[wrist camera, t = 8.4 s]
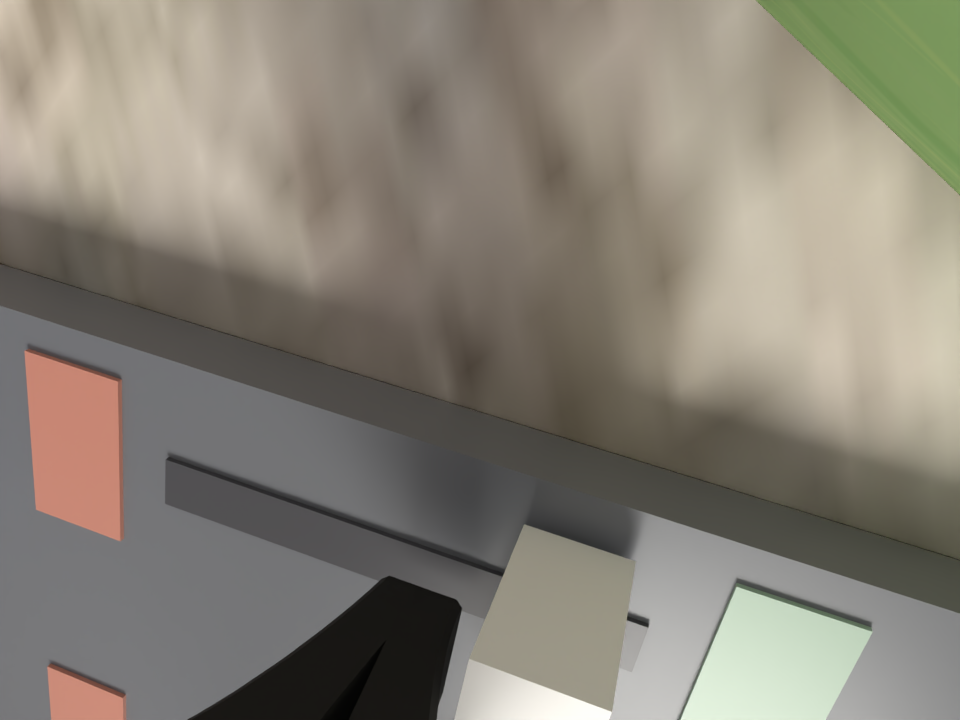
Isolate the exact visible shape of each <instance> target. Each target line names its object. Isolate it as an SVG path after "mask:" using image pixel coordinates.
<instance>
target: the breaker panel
mask: <svg viewBox="0 0 960 720" xmlns="http://www.w3.org/2000/svg"><path fill="white" fill-rule="evenodd" d="M524 524H525V525H528V526H531V527H534V528H537V529H540V530H543V531H546V532H549V533H552V534H555V535H558V536H561V537H564V538H567V539H570V540H573V541H576V542H579V543H582V544H585V545H588V546H591V547H594V548H597V549H600V550H603V551H606V552H609V553H612V554H615V555H618V556H621V557H624V558H627V559H630V560H633V561H636V564H635V570H634V576H633V583H632V589H631V595H630V602H629V608H628V614H627V621H626V627H625V633H624V640H623V646H622V652H621V659H620V665H619V671H618V678H617V684H616V690H615V697H614V703H613V709H612V714H611V716H610V719H609V720H960V560H957V559H953V558H950V557H947V556H944V555H941V554H937V553H934V552H931V551H928V550H924V549H921V548H918V547H915V546H911V545H908V544H905V543H902V542H898V541H895V540H892V539H889V538H885V537H882V536H879V535H876V534H873V533H869V532H866V531H863V530H860V529H856V528H853V527H850V526H847V525H843V524H840V523H837V522H834V521H830V520H827V519H824V518H821V517H817V516H814V515H811V514H808V513H805V512H801V511H798V510H795V509H792V508H788V507H785V506H782V505H779V504H775V503H772V502H769V501H766V500H762V499H759V498H756V497H753V496H749V495H746V494H743V493H740V492H737V491H733V490H730V489H727V488H724V487H720V486H717V485H714V484H711V483H707V482H704V481H701V480H698V479H694V478H691V477H688V476H685V475H681V474H678V473H675V472H672V471H669V470H665V469H662V468H659V467H656V466H652V465H649V464H646V463H643V462H639V461H636V460H633V459H630V458H626V457H623V456H620V455H617V454H614V453H610V452H607V451H604V450H601V449H597V448H594V447H591V446H588V445H584V444H581V443H578V442H575V441H571V440H568V439H565V438H562V437H558V436H555V435H552V434H549V433H546V432H542V431H539V430H536V429H533V428H529V427H526V426H523V425H520V424H516V423H513V422H510V421H507V420H503V419H500V418H497V417H494V416H490V415H487V414H484V413H481V412H478V411H474V410H471V409H468V408H465V407H461V406H458V405H455V404H452V403H448V402H445V401H442V400H439V399H435V398H432V397H429V396H426V395H422V394H419V393H416V392H413V391H410V390H406V389H403V388H400V387H397V386H393V385H390V384H387V383H384V382H380V381H377V380H374V379H371V378H367V377H364V376H361V375H358V374H354V373H351V372H348V371H345V370H342V369H338V368H335V367H332V366H329V365H325V364H322V363H319V362H316V361H312V360H309V359H306V358H303V357H299V356H296V355H293V354H290V353H286V352H283V351H280V350H277V349H274V348H270V347H267V346H264V345H261V344H257V343H254V342H251V341H248V340H244V339H241V338H238V337H235V336H231V335H228V334H225V333H222V332H218V331H215V330H212V329H209V328H206V327H202V326H199V325H196V324H193V323H189V322H186V321H183V320H180V319H176V318H173V317H170V316H167V315H163V314H160V313H157V312H154V311H150V310H147V309H144V308H141V307H138V306H134V305H131V304H128V303H125V302H121V301H118V300H115V299H112V298H108V297H105V296H102V295H99V294H95V293H92V292H89V291H86V290H82V289H79V288H76V287H73V286H70V285H66V284H63V283H60V282H57V281H53V280H50V279H47V278H44V277H40V276H37V275H34V274H31V273H27V272H24V271H21V270H18V269H14V268H11V267H8V266H5V265H2V264H0V720H187V719H189V718H191V717H193V716H194V715H196V714H198V713H200V712H201V711H203V710H205V709H206V708H208V707H210V706H211V705H213V704H215V703H216V702H218V701H220V700H221V699H223V698H224V697H226V696H228V695H229V694H231V693H232V692H234V691H236V690H237V689H239V688H240V687H242V686H243V685H245V684H246V683H248V682H249V681H250V680H252V679H253V678H255V677H256V676H258V675H259V674H261V673H262V672H264V671H265V670H267V669H268V668H270V667H271V666H273V665H274V664H276V663H277V662H279V661H280V660H282V659H283V658H284V657H286V656H287V655H288V654H290V653H291V652H293V651H294V650H295V649H296V648H298V647H299V646H300V645H302V644H303V643H304V642H306V641H307V640H308V639H310V638H311V637H312V636H314V635H315V634H316V633H318V632H319V631H320V630H322V629H323V628H324V627H326V626H327V625H328V624H329V623H331V622H332V621H333V620H334V619H336V618H337V617H338V616H339V615H340V614H342V613H343V612H344V611H345V610H347V609H348V608H349V607H350V606H351V605H353V604H354V603H355V602H356V601H357V600H358V599H360V598H361V597H362V596H363V595H364V594H365V593H366V592H368V591H369V590H370V589H371V588H372V587H373V586H374V585H375V584H376V583H378V582H379V581H380V580H381V579H382V578H385V577H387V576H392V577H395V578H398V579H400V580H403V581H406V582H409V583H412V584H414V585H417V586H420V587H423V588H426V589H428V590H431V591H434V592H437V593H440V594H442V595H445V596H448V597H451V598H453V599H456V600H457V601H458V602H459V604H460V605H461V607H462V611H461V616H460V620H459V625H458V629H457V633H456V638H455V642H454V646H453V651H452V655H451V660H450V664H449V668H448V673H447V677H446V681H445V686H444V690H443V694H442V697H441V699H440V702H439V705H438V713H437V720H454V718H455V714H456V710H457V706H458V702H459V698H460V694H461V690H462V686H463V682H464V677H465V673H466V669H467V665H468V661H469V658H470V655H471V653H472V650H473V648H474V645H475V643H476V641H477V638H478V636H479V633H480V631H481V628H482V626H483V623H484V621H485V619H486V616H487V614H488V611H489V609H490V606H491V604H492V601H493V599H494V597H495V594H496V592H497V589H498V587H499V584H500V582H501V579H502V577H503V575H504V572H505V570H506V567H507V565H508V562H509V560H510V557H511V555H512V553H513V550H514V548H515V545H516V543H517V540H518V538H519V535H520V533H521V531H522V528H523V526H524Z"/></svg>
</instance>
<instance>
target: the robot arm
mask: <svg viewBox="0 0 960 720" xmlns="http://www.w3.org/2000/svg"><path fill="white" fill-rule="evenodd" d="M461 611H462V607H461V605H460V604H459V602H458V601H457V600H456V599H453V598H451V597H448V596H445V595H442V594H440V593H437V592H434V591H431V590H428V589H426V588H423V587H420V586H417V585H414V584H412V583H409V582H406V581H403V580H400V579H398V578H395V577H392V576H387V577H385V578H382V579H381V580H380V581H379V582H378V583H376V584H375V585H374V586H373V587H372V588H371V589H370V590H369V591H368V592H366V593H365V594H364V595H363V596H362V597H361V598H360V599H358V600H357V601H356V602H355V603H354V604H353V605H351V606H350V607H349V608H348V609H347V610H345V611H344V612H343V613H342V614H340V615H339V616H338V617H337V618H336V619H334V620H333V621H332V622H331V623H329V624H328V625H327V626H326V627H324V628H323V629H322V630H320V631H319V632H318V633H316V634H315V635H314V636H312V637H311V638H310V639H308V640H307V641H306V642H304V643H303V644H302V645H300V646H299V647H298V648H296V649H295V650H294V651H293V652H291V653H290V654H288V655H287V656H286V657H284V658H283V659H282V660H280V661H279V662H277V663H276V664H274V665H273V666H271V667H270V668H268V669H267V670H265V671H264V672H262V673H261V674H259V675H258V676H256V677H255V678H253V679H252V680H250V681H249V682H248V683H246V684H245V685H243V686H242V687H240V688H239V689H237V690H236V691H234V692H232V693H231V694H229V695H228V696H226V697H224V698H223V699H221V700H220V701H218V702H216V703H215V704H213V705H211V706H210V707H208V708H206V709H205V710H203V711H201V712H200V713H198V714H196V715H194V716H193V717H191V718H189V719H187V720H437V713H438V705H439V702H440V699H441V697H442V694H443V690H444V686H445V681H446V677H447V673H448V668H449V664H450V660H451V655H452V651H453V646H454V642H455V638H456V633H457V629H458V625H459V620H460V616H461Z"/></svg>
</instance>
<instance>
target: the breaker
mask: <svg viewBox="0 0 960 720" xmlns="http://www.w3.org/2000/svg"><path fill="white" fill-rule="evenodd" d="M635 564H636V561H633V560H630V559H627V558H624V557H621V556H618V555H615V554H612V553H609V552H606V551H603V550H600V549H597V548H594V547H591V546H588V545H585V544H582V543H579V542H576V541H573V540H570V539H567V538H564V537H561V536H558V535H555V534H552V533H549V532H546V531H543V530H540V529H537V528H534V527H531V526H528V525H525V524H524V526H523V528H522V531H521V533H520V535H519V538H518V540H517V543H516V545H515V548H514V550H513V553H512V555H511V557H510V560H509V562H508V565H507V567H506V570H505V572H504V575H503V577H502V579H501V582H500V584H499V587H498V589H497V592H496V594H495V597H494V599H493V601H492V604H491V606H490V609H489V611H488V614H487V616H486V619H485V621H484V623H483V626H482V628H481V631H480V633H479V636H478V638H477V641H476V643H475V645H474V648H473V650H472V653H471V655H470V658H469V661H468V665H467V669H466V673H465V677H464V682H463V686H462V690H461V694H460V698H459V702H458V706H457V710H456V714H455V718H454V720H609V719H610V716H611V714H612V709H613V703H614V697H615V690H616V684H617V678H618V671H619V665H620V659H621V652H622V646H623V640H624V633H625V627H626V621H627V614H628V608H629V602H630V595H631V589H632V583H633V576H634V570H635Z"/></svg>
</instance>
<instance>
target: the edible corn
mask: <svg viewBox="0 0 960 720" xmlns="http://www.w3.org/2000/svg"><path fill="white" fill-rule="evenodd" d="M756 1H757V2H758V3H759V4H760V5H761V6H762V7H763V8H764V9H765V10H766V11H768V12H769V13H770V14H771V15H772V16H773V17H774V18H775V19H776V20H777V21H778V22H779V23H780V24H781V25H782V26H783V27H784V28H785V29H786V30H787V31H789V32H790V33H791V34H792V35H793V36H794V37H795V38H796V39H797V40H798V41H799V42H800V43H801V44H802V45H803V46H804V47H805V48H806V49H807V50H808V51H809V52H811V53H812V54H813V55H814V56H815V57H816V58H817V59H818V60H819V61H820V62H821V63H822V64H823V65H824V66H825V67H826V68H827V69H828V70H829V71H830V72H831V73H833V74H834V75H835V76H836V77H837V78H838V79H839V80H840V81H841V82H842V83H843V84H844V85H845V86H846V87H847V88H848V89H849V90H850V91H851V92H852V93H853V94H855V95H856V96H857V97H858V98H859V99H860V100H861V101H862V102H863V103H864V104H865V105H866V106H867V107H868V108H869V109H870V110H871V111H872V112H873V113H874V114H875V115H877V116H878V117H879V118H880V119H881V120H882V121H883V122H884V123H885V124H886V125H887V126H888V127H889V128H890V129H891V130H892V131H893V132H894V133H895V134H896V135H897V136H899V137H900V138H901V139H902V140H903V141H904V142H905V143H906V144H907V145H908V146H909V147H910V148H911V149H912V150H913V151H914V152H915V153H916V154H917V155H918V156H919V157H921V158H922V159H923V160H924V161H925V162H926V163H927V164H928V165H929V166H930V167H931V168H932V169H933V170H934V171H935V172H936V173H937V174H938V175H939V176H940V177H941V178H943V179H944V180H945V181H946V182H947V183H948V184H949V185H950V186H951V187H952V188H953V189H954V190H955V191H956V192H957V193H958V194H959V195H960V0H756Z"/></svg>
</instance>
